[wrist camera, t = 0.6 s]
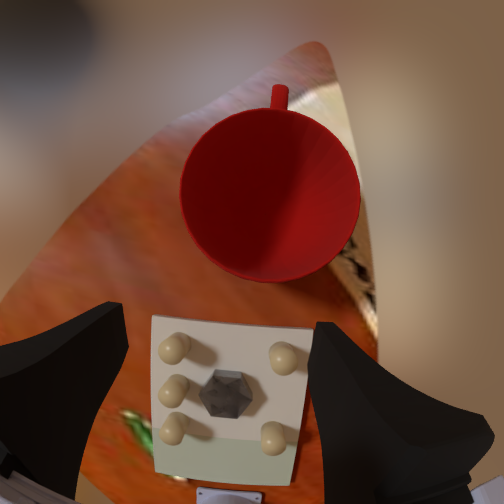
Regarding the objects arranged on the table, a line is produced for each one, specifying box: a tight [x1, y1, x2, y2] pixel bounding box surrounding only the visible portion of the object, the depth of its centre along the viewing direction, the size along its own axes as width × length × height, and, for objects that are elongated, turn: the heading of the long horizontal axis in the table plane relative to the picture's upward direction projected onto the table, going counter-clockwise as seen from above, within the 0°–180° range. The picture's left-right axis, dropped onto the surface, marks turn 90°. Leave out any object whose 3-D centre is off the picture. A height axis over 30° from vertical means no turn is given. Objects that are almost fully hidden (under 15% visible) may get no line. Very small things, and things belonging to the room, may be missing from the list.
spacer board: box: [151, 314, 313, 485], centre depth 27 cm, size 20×16×4 cm
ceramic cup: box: [179, 84, 361, 283], centre depth 26 cm, size 13×17×10 cm
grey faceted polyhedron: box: [198, 369, 253, 419], centre depth 27 cm, size 5×4×2 cm
